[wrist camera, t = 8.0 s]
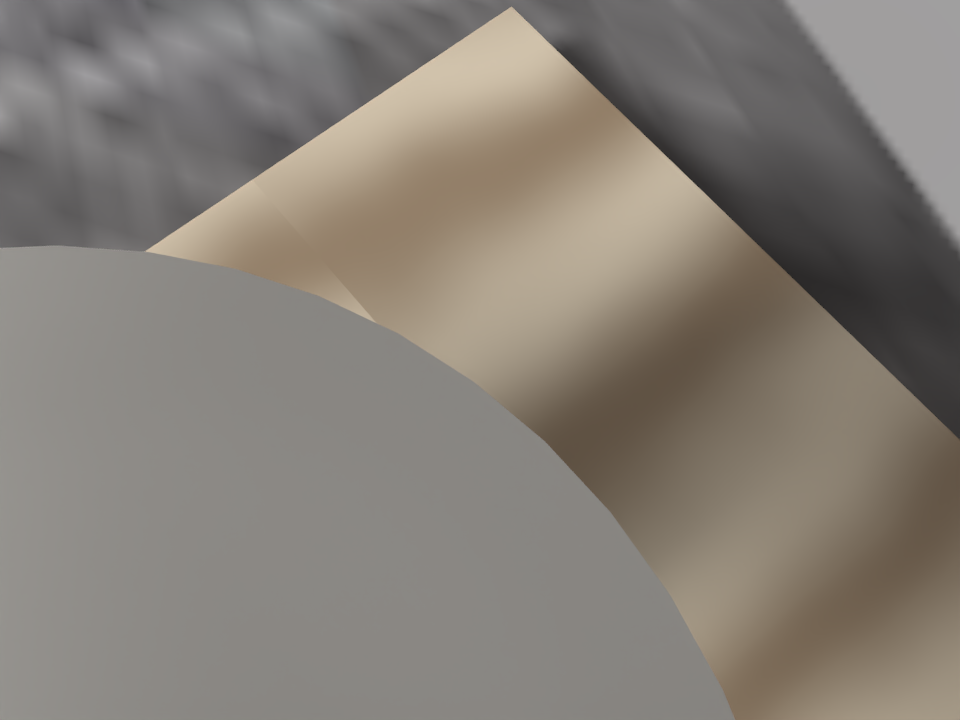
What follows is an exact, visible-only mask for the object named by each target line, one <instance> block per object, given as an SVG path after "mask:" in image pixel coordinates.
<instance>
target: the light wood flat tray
mask: <svg viewBox="0 0 960 720" xmlns="http://www.w3.org/2000/svg"><path fill="white" fill-rule="evenodd" d="M145 252H151V253H156V254H161V255H167V256H172V257H177V258H182V259H187V260H192V261H198V262H203V263H208V264H213V265H218V266H223V267H229V268H234V269H237V270H241V271H244V272H247V273H250V274H253V275H256V276H259V277H262V278H265V279H268V280H271V281H274V282H277V283H280V284H284V285H287V286H290V287H293V288H296V289H299V290H302V291H305V292H308V293H311V294H314V295H317V296H320V297H322V298H324V299H326V300H328V301H331V302H333V303H335V304H337V305H339V306H341V307H343V308H345V309H347V310H350V311H352V312H354V313H356V314H358V315H360V316H362V317H364V318H366V319H369V320H371V321H373V322H375V323H377V324H379V325H381V326H383V327H385V328H388V329H390V330H392V331H394V332H396V333H398V334H400V335H401V336H403V337H405V338H406V339H408V340H409V341H411V342H412V343H414V344H415V345H417V346H419V347H420V348H422V349H423V350H425V351H426V352H428V353H430V354H431V355H433V356H434V357H436V358H437V359H439V360H440V361H442V362H444V363H445V364H447V365H448V366H450V367H451V368H453V369H455V370H456V371H458V372H459V373H461V374H462V375H464V376H465V377H467V378H469V379H470V380H472V381H473V382H475V383H476V384H477V385H478V386H479V387H481V388H482V389H483V390H484V391H485V392H487V393H488V394H489V395H490V396H491V397H493V398H494V399H495V400H496V401H497V402H499V403H500V404H501V405H502V406H503V407H504V408H506V409H507V410H508V411H509V412H510V413H512V414H513V415H514V416H515V417H516V418H518V419H519V420H520V421H521V422H522V423H524V424H525V425H526V426H527V427H528V428H530V429H531V430H532V431H533V432H534V433H536V434H537V435H538V436H539V437H540V438H541V439H543V440H544V441H545V442H546V443H547V444H548V445H549V446H550V447H551V448H552V450H553V451H554V452H555V453H556V454H557V455H558V456H559V457H560V458H561V459H562V460H563V461H564V462H565V464H566V465H567V466H568V467H569V468H570V469H571V470H572V471H573V472H574V473H575V474H576V475H577V477H578V478H579V479H580V480H581V481H582V482H583V483H584V484H585V485H586V486H587V487H588V488H589V489H590V491H591V492H592V493H593V494H594V495H595V496H596V497H597V498H598V499H599V500H600V501H601V502H602V503H603V505H604V506H605V507H606V508H607V509H608V510H609V511H610V512H611V513H612V515H613V516H614V518H615V519H616V520H617V522H618V523H619V525H620V526H621V527H622V529H623V530H624V532H625V533H626V534H627V536H628V537H629V538H630V540H631V541H632V543H633V544H634V545H635V547H636V548H637V550H638V551H639V552H640V554H641V555H642V556H643V558H644V559H645V561H646V562H647V563H648V565H649V566H650V568H651V569H652V570H653V572H654V573H655V575H656V576H657V577H658V579H659V580H660V581H661V583H662V584H663V586H664V587H665V588H666V590H667V591H668V593H669V594H670V595H671V597H672V599H673V601H674V603H675V605H676V606H677V608H678V610H679V612H680V614H681V615H682V617H683V619H684V621H685V623H686V624H687V626H688V628H689V630H690V632H691V633H692V635H693V637H694V639H695V641H696V642H697V644H698V646H699V648H700V650H701V651H702V653H703V655H704V657H705V659H706V660H707V662H708V664H709V666H710V668H711V669H712V671H713V673H714V675H715V677H716V679H717V680H718V682H719V684H720V686H721V688H722V689H723V692H724V694H725V696H726V699H727V701H728V704H729V706H730V709H731V711H732V713H733V716H734V718H735V720H960V440H959V439H958V438H957V437H956V436H955V435H954V434H953V433H952V432H951V431H950V430H949V429H948V428H947V427H946V426H945V425H944V424H943V423H942V422H941V421H940V420H939V419H938V418H937V417H936V416H935V415H934V414H933V413H931V412H930V411H929V410H928V409H927V408H926V407H925V406H924V405H923V404H922V403H921V402H920V401H919V400H918V399H917V398H916V397H915V396H914V395H913V394H912V393H911V392H910V391H909V390H908V389H907V388H906V387H905V386H904V385H903V384H901V383H900V382H899V381H898V380H897V379H896V378H895V377H894V376H893V375H892V374H891V373H890V372H889V371H888V370H887V369H886V368H885V367H884V366H883V365H882V364H881V363H880V362H879V361H878V360H877V359H876V358H875V357H874V356H872V355H871V354H870V353H869V352H868V351H867V350H866V349H865V348H864V347H863V346H862V345H861V344H860V343H859V342H858V341H857V340H856V339H855V338H854V337H853V336H852V335H851V334H850V333H849V332H848V331H847V330H846V329H845V328H844V327H842V326H841V325H840V324H839V323H838V322H837V321H836V320H835V319H834V318H833V317H832V316H831V315H830V314H829V313H828V312H827V311H826V310H825V309H824V308H823V307H822V306H821V305H820V304H819V303H818V302H817V301H816V300H815V299H813V298H812V297H811V296H810V295H809V294H808V293H807V292H806V291H805V290H804V289H803V288H802V287H801V286H800V285H799V284H798V283H797V282H796V281H795V280H794V279H793V278H792V277H791V276H790V275H789V274H788V273H787V272H786V271H785V270H783V269H782V268H781V267H780V266H779V265H778V264H777V263H776V262H775V261H774V260H773V259H772V258H771V257H770V256H769V255H768V254H767V253H766V252H765V251H764V250H763V249H762V248H761V247H760V246H759V245H758V244H757V243H756V242H754V241H753V240H752V239H751V238H750V237H749V236H748V235H747V234H746V233H745V232H744V231H743V230H742V229H741V228H740V227H739V226H738V225H737V224H736V223H735V222H734V221H733V220H732V219H731V218H730V217H729V216H728V215H727V214H726V213H724V212H723V211H722V210H721V209H720V208H719V207H718V206H717V205H716V204H715V203H714V202H713V201H712V200H711V199H710V198H709V197H708V196H707V195H706V194H705V193H704V192H703V191H702V190H701V189H700V188H699V187H698V186H697V185H696V184H694V183H693V182H692V181H691V180H690V179H689V178H688V177H687V176H686V175H685V174H684V173H683V172H682V171H681V170H680V169H679V168H678V167H677V166H676V165H675V164H674V163H673V162H672V161H671V160H670V159H669V158H668V157H667V156H665V155H664V154H663V153H662V152H661V151H660V150H659V149H658V148H657V147H656V146H655V145H654V144H653V143H652V142H651V141H650V140H649V139H648V138H647V137H646V136H645V135H644V134H643V133H642V132H641V131H640V130H639V129H638V128H637V127H635V126H634V125H633V124H632V123H631V122H630V121H629V120H628V119H627V118H626V117H625V116H624V115H623V114H622V113H621V112H620V111H619V110H618V109H617V108H616V107H615V106H614V105H613V104H612V103H611V102H610V101H609V100H608V99H606V98H605V97H604V96H603V95H602V94H601V93H600V92H599V91H598V90H597V89H596V88H595V87H594V86H593V85H592V84H591V83H590V82H589V81H588V80H587V79H586V78H585V77H584V76H583V75H582V74H581V73H580V72H579V71H578V70H576V69H575V68H574V67H573V66H572V65H571V64H570V63H569V62H568V61H567V60H566V59H565V58H564V57H563V56H562V55H561V54H560V53H559V52H558V51H557V50H556V49H555V48H554V47H553V46H552V45H551V44H550V43H549V42H547V41H546V40H545V39H544V38H543V37H542V36H541V35H540V34H539V33H538V32H537V31H536V30H535V29H534V28H533V27H532V26H531V25H530V24H529V23H528V22H527V21H526V20H525V19H524V18H523V17H522V16H521V15H520V14H519V13H517V12H516V11H515V10H514V9H513V8H512V7H510V8H509V9H507V10H506V11H504V12H503V13H501V14H500V15H498V16H497V17H495V18H494V19H492V20H491V21H489V22H488V23H486V24H485V25H483V26H482V27H480V28H479V29H477V30H476V31H474V32H473V33H471V34H470V35H469V36H467V37H466V38H464V39H463V40H461V41H460V42H458V43H457V44H455V45H454V46H452V47H451V48H449V49H448V50H446V51H445V52H443V53H442V54H440V55H439V56H437V57H436V58H434V59H433V60H431V61H430V62H428V63H427V64H425V65H424V66H422V67H421V68H419V69H418V70H416V71H415V72H413V73H412V74H410V75H409V76H407V77H406V78H404V79H403V80H401V81H400V82H398V83H397V84H395V85H394V86H392V87H391V88H389V89H388V90H386V91H385V92H383V93H382V94H380V95H379V96H377V97H376V98H374V99H373V100H371V101H370V102H368V103H367V104H365V105H364V106H362V107H361V108H359V109H358V110H356V111H355V112H353V113H352V114H350V115H349V116H347V117H346V118H344V119H343V120H341V121H340V122H338V123H337V124H335V125H334V126H332V127H331V128H329V129H328V130H326V131H325V132H323V133H322V134H320V135H319V136H317V137H316V138H314V139H313V140H311V141H310V142H308V143H307V144H305V145H304V146H302V147H301V148H299V149H298V150H296V151H295V152H293V153H292V154H290V155H289V156H287V157H286V158H284V159H283V160H281V161H280V162H278V163H277V164H275V165H274V166H272V167H271V168H269V169H268V170H266V171H265V172H263V173H262V174H260V175H259V176H257V177H256V178H254V179H253V180H251V181H250V182H248V183H247V184H245V185H244V186H242V187H241V188H239V189H238V190H236V191H235V192H233V193H232V194H230V195H229V196H227V197H226V198H224V199H223V200H221V201H220V202H218V203H217V204H215V205H214V206H212V207H211V208H209V209H208V210H206V211H205V212H203V213H202V214H200V215H199V216H197V217H196V218H194V219H193V220H191V221H190V222H188V223H187V224H185V225H184V226H182V227H181V228H179V229H178V230H176V231H175V232H173V233H172V234H170V235H169V236H167V237H166V238H164V239H163V240H161V241H160V242H158V243H157V244H155V245H154V246H152V247H151V248H149V249H148V250H146V251H145Z"/></svg>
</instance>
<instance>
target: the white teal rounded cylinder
mask: <svg viewBox="0 0 960 720" xmlns="http://www.w3.org/2000/svg"><path fill="white" fill-rule="evenodd" d="M0 720H735V718H734V716H733V713H732V711H731V709H730V706H729V704H728V701H727V699H726V696H725V694H724V692H723V689H722V688H721V686H720V684H719V682H718V680H717V679H716V677H715V675H714V673H713V671H712V669H711V668H710V666H709V664H708V662H707V660H706V659H705V657H704V655H703V653H702V651H701V650H700V648H699V646H698V644H697V642H696V641H695V639H694V637H693V635H692V633H691V632H690V630H689V628H688V626H687V624H686V623H685V621H684V619H683V617H682V615H681V614H680V612H679V610H678V608H677V606H676V605H675V603H674V601H673V599H672V597H671V595H670V594H669V593H668V591H667V590H666V588H665V587H664V586H663V584H662V583H661V581H660V580H659V579H658V577H657V576H656V575H655V573H654V572H653V570H652V569H651V568H650V566H649V565H648V563H647V562H646V561H645V559H644V558H643V556H642V555H641V554H640V552H639V551H638V550H637V548H636V547H635V545H634V544H633V543H632V541H631V540H630V538H629V537H628V536H627V534H626V533H625V532H624V530H623V529H622V527H621V526H620V525H619V523H618V522H617V520H616V519H615V518H614V516H613V515H612V513H611V512H610V511H609V510H608V509H607V508H606V507H605V506H604V505H603V503H602V502H601V501H600V500H599V499H598V498H597V497H596V496H595V495H594V494H593V493H592V492H591V491H590V489H589V488H588V487H587V486H586V485H585V484H584V483H583V482H582V481H581V480H580V479H579V478H578V477H577V475H576V474H575V473H574V472H573V471H572V470H571V469H570V468H569V467H568V466H567V465H566V464H565V462H564V461H563V460H562V459H561V458H560V457H559V456H558V455H557V454H556V453H555V452H554V451H553V450H552V448H551V447H550V446H549V445H548V444H547V443H546V442H545V441H544V440H543V439H541V438H540V437H539V436H538V435H537V434H536V433H534V432H533V431H532V430H531V429H530V428H528V427H527V426H526V425H525V424H524V423H522V422H521V421H520V420H519V419H518V418H516V417H515V416H514V415H513V414H512V413H510V412H509V411H508V410H507V409H506V408H504V407H503V406H502V405H501V404H500V403H499V402H497V401H496V400H495V399H494V398H493V397H491V396H490V395H489V394H488V393H487V392H485V391H484V390H483V389H482V388H481V387H479V386H478V385H477V384H476V383H475V382H473V381H472V380H470V379H469V378H467V377H465V376H464V375H462V374H461V373H459V372H458V371H456V370H455V369H453V368H451V367H450V366H448V365H447V364H445V363H444V362H442V361H440V360H439V359H437V358H436V357H434V356H433V355H431V354H430V353H428V352H426V351H425V350H423V349H422V348H420V347H419V346H417V345H415V344H414V343H412V342H411V341H409V340H408V339H406V338H405V337H403V336H401V335H400V334H398V333H396V332H394V331H392V330H390V329H388V328H385V327H383V326H381V325H379V324H377V323H375V322H373V321H371V320H369V319H366V318H364V317H362V316H360V315H358V314H356V313H354V312H352V311H350V310H347V309H345V308H343V307H341V306H339V305H337V304H335V303H333V302H331V301H328V300H326V299H324V298H322V297H320V296H317V295H314V294H311V293H308V292H305V291H302V290H299V289H296V288H293V287H290V286H287V285H284V284H280V283H277V282H274V281H271V280H268V279H265V278H262V277H259V276H256V275H253V274H250V273H247V272H244V271H241V270H237V269H234V268H229V267H223V266H218V265H213V264H208V263H203V262H198V261H192V260H187V259H182V258H177V257H172V256H167V255H161V254H156V253H151V252H142V251H128V250H114V249H99V248H85V247H71V246H35V247H13V248H0Z"/></svg>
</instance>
